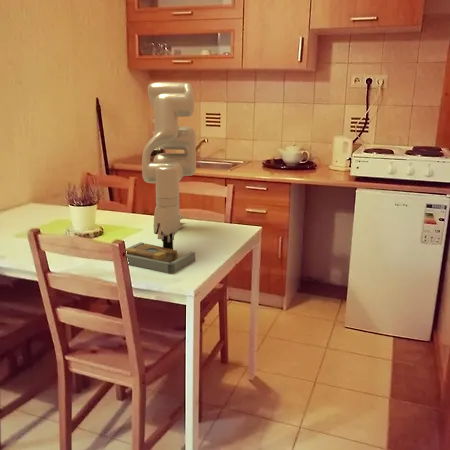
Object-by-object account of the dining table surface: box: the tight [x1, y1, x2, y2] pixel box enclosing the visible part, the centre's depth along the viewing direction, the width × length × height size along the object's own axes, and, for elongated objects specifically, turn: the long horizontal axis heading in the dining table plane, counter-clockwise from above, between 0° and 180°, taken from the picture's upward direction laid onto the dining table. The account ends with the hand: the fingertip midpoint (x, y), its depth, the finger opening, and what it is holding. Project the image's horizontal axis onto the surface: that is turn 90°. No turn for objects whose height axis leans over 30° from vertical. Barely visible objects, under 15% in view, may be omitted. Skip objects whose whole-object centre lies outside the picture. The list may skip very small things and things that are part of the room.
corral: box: [125, 241, 196, 275], centre depth 166 cm, size 14×23×3 cm, turn 63°
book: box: [125, 242, 179, 263], centre depth 167 cm, size 15×11×5 cm
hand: (168, 251), depth 173 cm, fingers closed
